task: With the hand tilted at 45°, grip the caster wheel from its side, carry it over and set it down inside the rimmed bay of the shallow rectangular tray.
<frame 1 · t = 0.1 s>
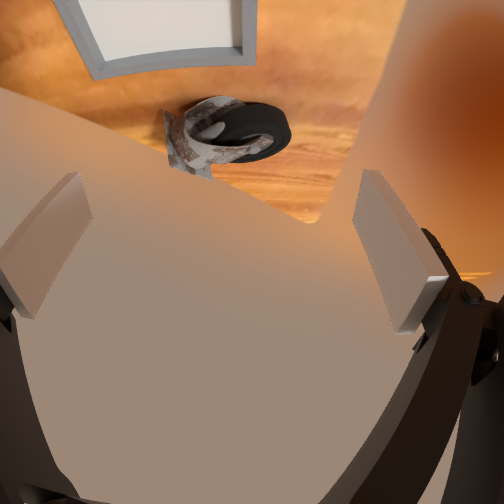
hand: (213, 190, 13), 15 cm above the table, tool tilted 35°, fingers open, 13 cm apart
caster wheel: (236, 112, 29), on the table
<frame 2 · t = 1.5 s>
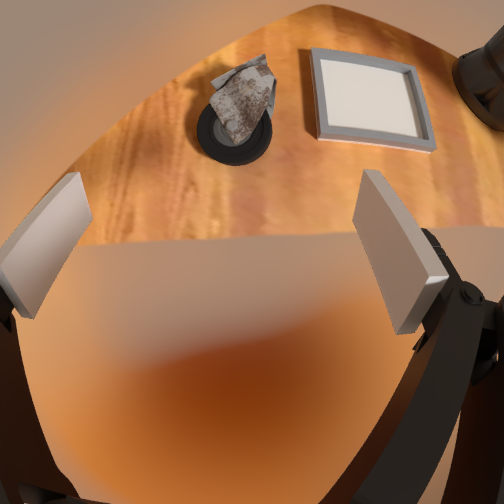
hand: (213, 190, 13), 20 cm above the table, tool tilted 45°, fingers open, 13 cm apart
caster wheel: (245, 127, 34), on the table
shallow rectangular tray: (370, 100, 34), on the table
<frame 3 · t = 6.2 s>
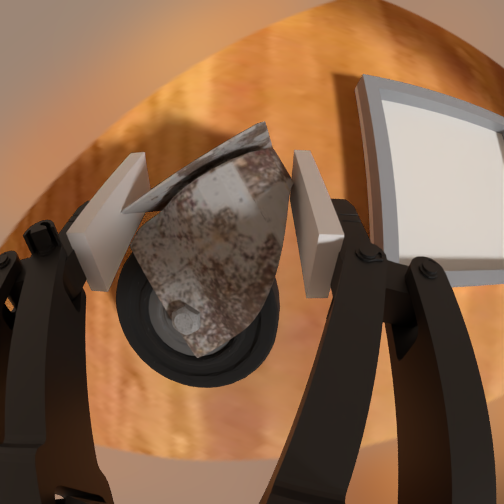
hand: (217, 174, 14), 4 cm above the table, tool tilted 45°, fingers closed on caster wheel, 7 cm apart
caster wheel: (222, 278, 17), on the table, touching gripper
shallow rectangular tray: (459, 189, 18), on the table
when the fingers open (6 cm above the table, at t = 11.9 s): caster wheel drops 1 cm, resting on shallow rectangular tray.
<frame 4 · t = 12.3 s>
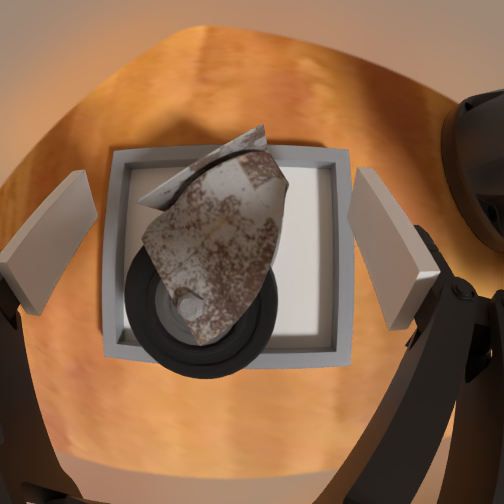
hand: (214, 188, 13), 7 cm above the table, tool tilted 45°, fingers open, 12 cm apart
caster wheel: (223, 279, 19), point 1 cm above the table, touching shallow rectangular tray
shallow rectangular tray: (226, 255, 20), on the table
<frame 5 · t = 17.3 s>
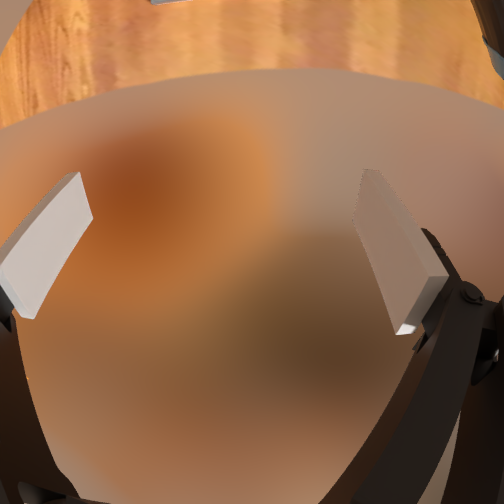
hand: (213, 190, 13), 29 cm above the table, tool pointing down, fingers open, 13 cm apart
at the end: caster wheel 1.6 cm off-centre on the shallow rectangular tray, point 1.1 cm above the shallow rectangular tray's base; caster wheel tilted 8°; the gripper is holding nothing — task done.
